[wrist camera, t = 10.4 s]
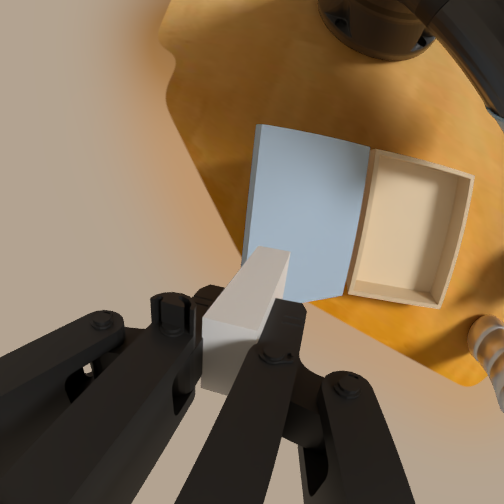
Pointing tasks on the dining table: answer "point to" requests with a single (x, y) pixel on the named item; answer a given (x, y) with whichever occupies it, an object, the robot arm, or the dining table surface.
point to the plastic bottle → (489, 350)
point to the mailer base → (408, 230)
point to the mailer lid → (306, 206)
